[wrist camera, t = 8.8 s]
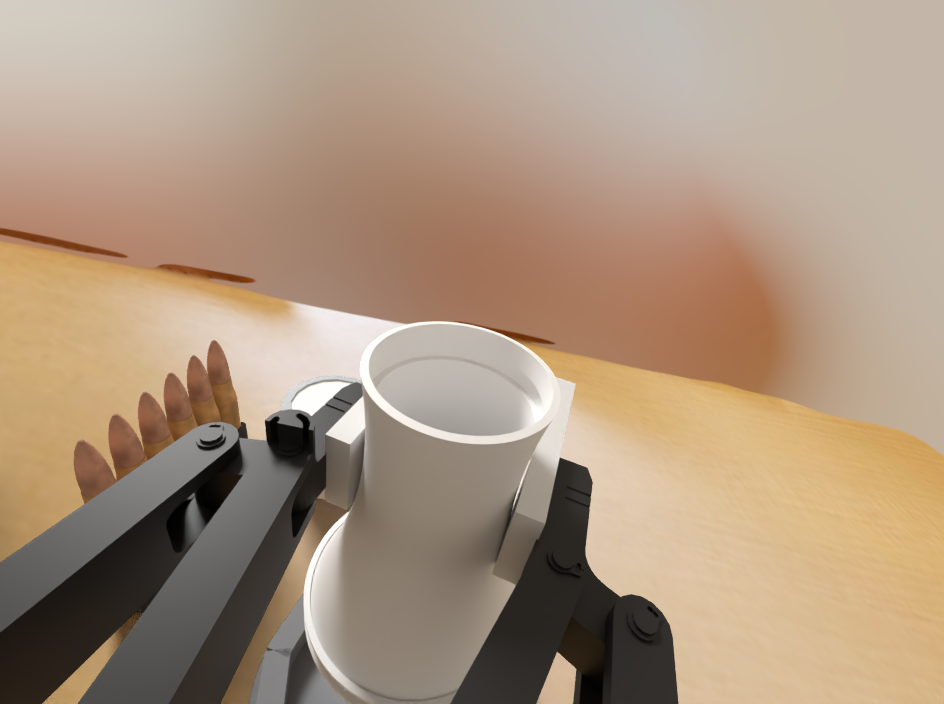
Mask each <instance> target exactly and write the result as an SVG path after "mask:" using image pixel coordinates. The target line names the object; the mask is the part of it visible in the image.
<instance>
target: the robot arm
mask: <svg viewBox="0 0 944 704" xmlns="http://www.w3.org/2000/svg"><path fill="white" fill-rule="evenodd" d="M556 380H557V382H558V385H559V388H560V394H561V400H560V406H559V409H558V412H557V414H556V415H555V417H554V418H553V420H552V421H551V423H550V425H549V426H548V428H547V429H546V431H545V433H544V434H543V436H542V438H541V439H540V441H539V443H538V445H537V447H536V449H535V451H534V453H533V455H532V457H531V459H530V460H529V463H528V465H527V467H526V469H525V472H524V474H523V476H522V479H521V482H520V485H519V489H518V492H517V495H516V498H515V501H514V505H513V508H512V512H511V517H510V521H509V524H508V527H507V530H506V533H505V536H504V539H503V542H502V545H501V548H500V551H499V554H498V557H497V560H496V563H495V566H494V569H493V572H492V575H495V576H497V577H499V578H501V579H504V580H506V581H508V582H510V583H513V584H515V585H516V586H515V588H514V590H513V592H512V594H511V595H510V597H509V599H508V601H507V603H506V604H505V606H504V608H503V610H502V612H501V613H500V615H499V617H498V619H497V621H496V622H495V624H494V626H493V628H492V629H491V631H490V633H489V635H488V637H487V638H486V640H485V642H484V644H483V646H482V647H481V649H480V651H479V653H478V655H477V656H476V658H475V660H474V662H473V664H472V665H471V667H470V669H469V671H468V673H467V674H466V676H465V678H464V680H463V681H462V683H461V685H460V687H459V689H458V690H457V692H456V694H455V696H454V698H453V699H452V701H451V703H450V704H536V703H537V700H538V698H539V695H540V693H541V690H542V688H543V685H544V683H545V680H546V678H547V675H548V673H549V670H550V668H551V665H552V663H553V660H554V658H555V655H556V653H557V652H558V653H560V654H561V655H562V656H563V657H564V658H565V659H566V660H567V661H568V662H570V663H571V664H572V665H573V666H574V667H575V668H576V669H577V670H576V680H575V691H574V701H573V704H678V695H677V683H676V671H675V660H674V648H673V637H672V633H671V629H670V625H669V623H668V622H667V620H666V618H665V617H664V615H663V613H662V612H661V611H660V610H659V609H658V608H657V607H656V606H655V605H654V604H653V603H652V602H650V601H648V600H647V599H645V598H643V597H641V596H636V595H632V594H631V595H626V596H622V597H620V596H618V595H617V594H616V593H614V592H613V591H612V590H610V589H609V588H608V587H607V586H605V585H604V584H603V583H602V582H601V581H600V580H599V579H598V578H597V577H596V576H595V575H594V573H593V572H592V571H591V569H590V567H589V565H588V563H587V559H586V556H585V546H586V537H587V528H588V519H589V510H590V509H589V507H590V501H591V498H590V497H591V492H592V483H593V482H592V479H591V476H590V474H589V471H588V468H586V467H584V466H581V465H578V464H576V463H573V462H570V461H568V460H565V459H562V458H560V454H561V449H562V445H563V440H564V435H565V431H566V426H567V421H568V417H569V412H570V408H571V403H572V398H573V394H574V389H575V385H576V384H575V383H572V382H569V381H566V380H563V379H560V378H557V377H556ZM265 426H266V437H267V441H265V440H253V439H245V438H239V433H238V431H237V428H235V427H234V426H232V425H231V424H228V423H223V422H212V423H208V424H204V425H201V426H199V427H197V428H195V429H193V430H191V431H190V432H188V433H187V434H185V435H184V436H183V437H181V438H180V439H178V440H177V441H175V442H174V443H172V444H171V445H169V446H168V447H167V448H165V449H164V450H162V451H161V452H159V453H158V454H156V455H155V456H154V457H152V458H151V459H149V460H148V461H146V462H145V463H143V464H142V465H141V466H139V467H138V468H136V469H135V470H133V471H132V472H130V473H129V474H128V475H126V476H125V477H123V478H122V479H120V480H119V481H117V482H116V483H115V484H113V485H112V486H110V487H109V488H107V489H106V490H104V491H103V492H102V493H100V494H99V495H97V496H96V497H94V498H93V499H91V500H90V501H89V502H87V503H86V504H84V505H83V506H81V507H80V508H78V509H77V510H75V511H74V512H73V513H71V514H70V515H68V516H67V517H65V518H64V519H62V520H61V521H60V522H58V523H57V524H55V525H54V526H52V527H51V528H49V529H48V530H47V531H45V532H44V533H42V534H41V535H39V536H38V537H36V538H35V539H34V540H32V541H31V542H29V543H28V544H26V545H25V546H23V547H22V548H21V549H19V550H18V551H16V552H15V553H13V554H12V555H10V556H9V557H8V558H6V559H5V560H3V561H2V562H0V704H42V703H43V702H44V701H45V700H46V699H47V698H48V697H49V696H50V695H51V694H52V693H53V692H54V691H55V690H56V689H57V688H58V687H59V686H60V685H62V684H63V683H64V682H65V681H66V680H67V679H68V678H69V677H70V676H71V675H72V674H73V673H74V672H75V671H76V670H77V669H78V668H79V667H80V666H81V665H82V664H83V663H84V662H85V661H86V660H87V659H88V658H89V657H90V656H91V655H92V654H93V653H94V652H95V651H96V650H97V649H98V648H99V647H100V646H101V645H102V644H103V643H104V642H105V641H107V640H108V639H109V638H110V637H111V636H112V635H113V634H114V633H115V632H116V631H117V630H118V629H119V628H120V627H121V626H122V625H123V624H124V623H125V622H126V621H127V620H128V619H129V618H130V617H131V616H132V615H133V614H134V613H135V612H136V611H137V610H138V609H139V608H140V607H141V606H142V605H143V604H144V603H145V602H146V601H147V600H148V599H149V598H150V597H152V596H153V595H154V594H155V593H156V592H157V591H158V590H159V589H160V588H161V587H162V586H163V587H162V588H161V589H160V591H159V592H158V593H157V595H156V596H155V598H154V599H153V600H152V602H151V603H150V604H149V606H148V607H147V609H146V610H145V611H144V613H143V614H142V616H141V617H140V618H139V620H138V621H137V622H136V624H135V625H134V627H133V628H132V629H131V631H130V632H129V633H128V635H127V636H126V638H125V639H124V640H123V642H122V643H121V644H120V646H119V647H118V649H117V650H116V651H115V653H114V654H113V656H112V657H111V658H110V660H109V661H108V662H107V664H106V665H105V667H104V668H103V669H102V671H101V672H100V673H99V675H98V676H97V678H96V679H95V680H94V682H93V683H92V684H91V686H90V687H89V689H88V690H87V691H86V693H85V694H84V696H83V697H82V698H81V700H80V701H79V702H78V704H220V703H221V701H222V699H223V697H224V695H225V692H226V690H227V688H228V686H229V684H230V682H231V680H232V678H233V676H234V674H235V672H236V670H237V668H238V666H239V664H240V662H241V660H242V658H243V656H244V654H245V652H246V650H247V648H248V646H249V644H250V641H251V639H252V637H253V635H254V633H255V631H256V629H257V627H258V625H259V623H260V621H261V619H262V617H263V615H264V613H265V611H266V609H267V607H268V605H269V603H270V601H271V599H272V597H273V595H274V593H275V591H276V588H277V586H278V584H279V582H280V580H281V578H282V576H283V574H284V572H285V570H286V568H287V566H288V564H289V562H290V560H291V558H292V556H293V554H294V552H295V550H296V548H297V546H298V544H299V542H300V540H301V537H302V535H303V533H304V531H305V529H306V527H307V525H308V523H309V521H310V519H311V517H312V515H313V513H314V510H315V506H316V499H317V497H318V496H319V495H320V494H321V493H322V491H323V490H324V489H325V501H326V502H329V503H331V504H333V505H336V506H338V507H340V508H342V509H345V510H347V509H348V508H349V507H350V505H351V504H352V503H353V501H354V499H355V496H356V493H357V490H358V486H359V482H360V477H361V472H362V466H363V459H364V448H365V412H364V399H363V390H362V384H361V383H358V382H355V383H352V384H350V385H348V386H345V387H343V388H342V389H341V390H340V391H338V392H337V393H336V394H335V395H334V396H333V398H331V399H330V400H329V401H328V402H326V403H325V406H324V405H323V406H322V407H321V408H320V409H319V410H318V411H317V412H316V413H314V414H313V415H312V416H311V415H310V414H309V413H307V412H304V411H301V410H294V409H288V410H282V411H279V412H277V413H274V414H272V415H271V416H269V417H268V418H267V419H266V420H265Z"/></svg>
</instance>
